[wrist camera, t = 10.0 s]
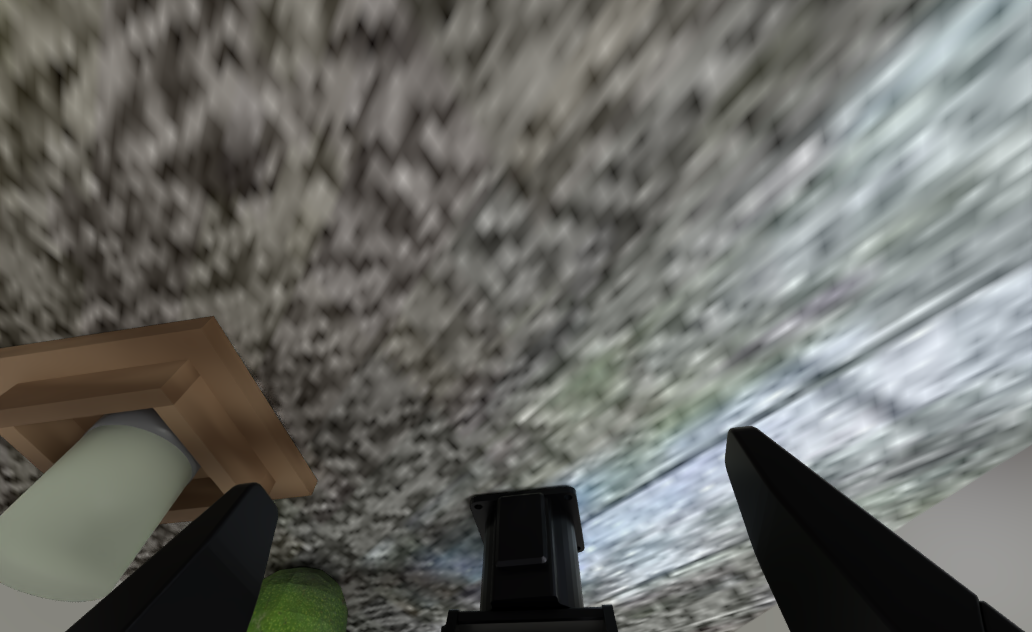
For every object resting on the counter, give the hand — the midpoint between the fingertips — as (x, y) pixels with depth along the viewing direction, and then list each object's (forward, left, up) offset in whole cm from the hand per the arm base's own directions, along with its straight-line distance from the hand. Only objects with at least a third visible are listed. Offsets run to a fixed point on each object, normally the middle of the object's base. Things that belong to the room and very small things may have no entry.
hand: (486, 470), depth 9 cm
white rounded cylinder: (-8, +20, -11) cm, 24 cm away
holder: (-8, +20, -12) cm, 25 cm away
